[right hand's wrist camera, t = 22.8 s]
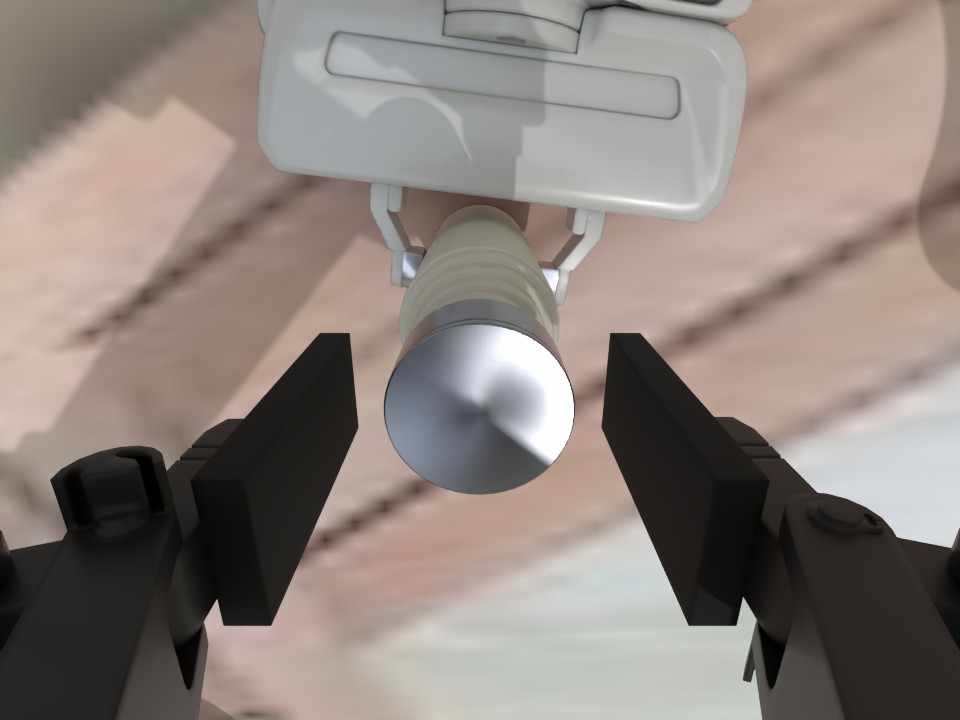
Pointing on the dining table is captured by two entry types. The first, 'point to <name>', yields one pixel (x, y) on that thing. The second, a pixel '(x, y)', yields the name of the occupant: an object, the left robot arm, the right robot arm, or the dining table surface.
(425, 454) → the cap
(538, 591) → the dining table surface
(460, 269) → the bottle
